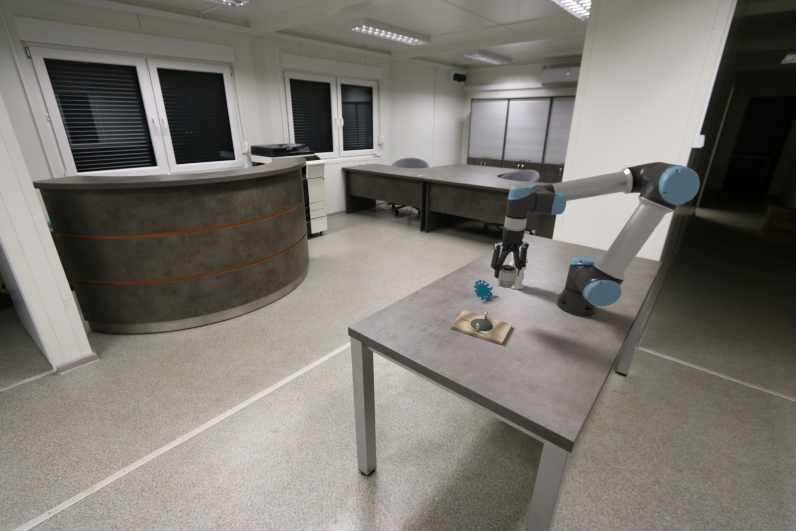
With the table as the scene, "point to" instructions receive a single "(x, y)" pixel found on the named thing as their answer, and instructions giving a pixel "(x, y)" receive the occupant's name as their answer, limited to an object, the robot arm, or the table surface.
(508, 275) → the camera lens
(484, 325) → the seat
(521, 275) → the white statue
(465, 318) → the mount
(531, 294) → the table surface
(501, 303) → the table surface
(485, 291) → the gear
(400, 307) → the table surface
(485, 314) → the pins
